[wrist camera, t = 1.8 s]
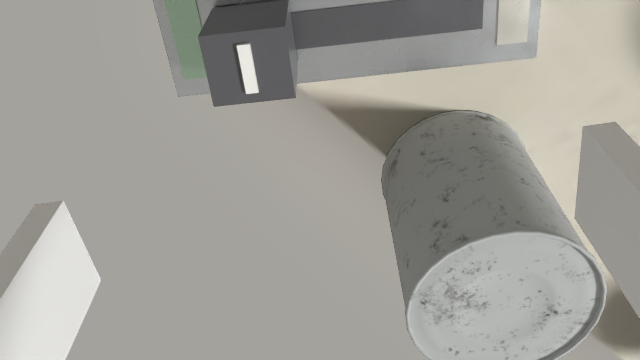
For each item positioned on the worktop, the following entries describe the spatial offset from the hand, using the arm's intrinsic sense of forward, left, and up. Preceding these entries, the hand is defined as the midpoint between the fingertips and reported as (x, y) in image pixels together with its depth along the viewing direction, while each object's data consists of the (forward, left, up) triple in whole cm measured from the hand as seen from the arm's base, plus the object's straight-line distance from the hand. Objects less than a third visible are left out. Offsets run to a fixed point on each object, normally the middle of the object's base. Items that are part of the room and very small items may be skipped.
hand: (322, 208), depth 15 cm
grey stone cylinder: (+13, +8, -21) cm, 25 cm away
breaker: (+1, -3, -18) cm, 18 cm away
